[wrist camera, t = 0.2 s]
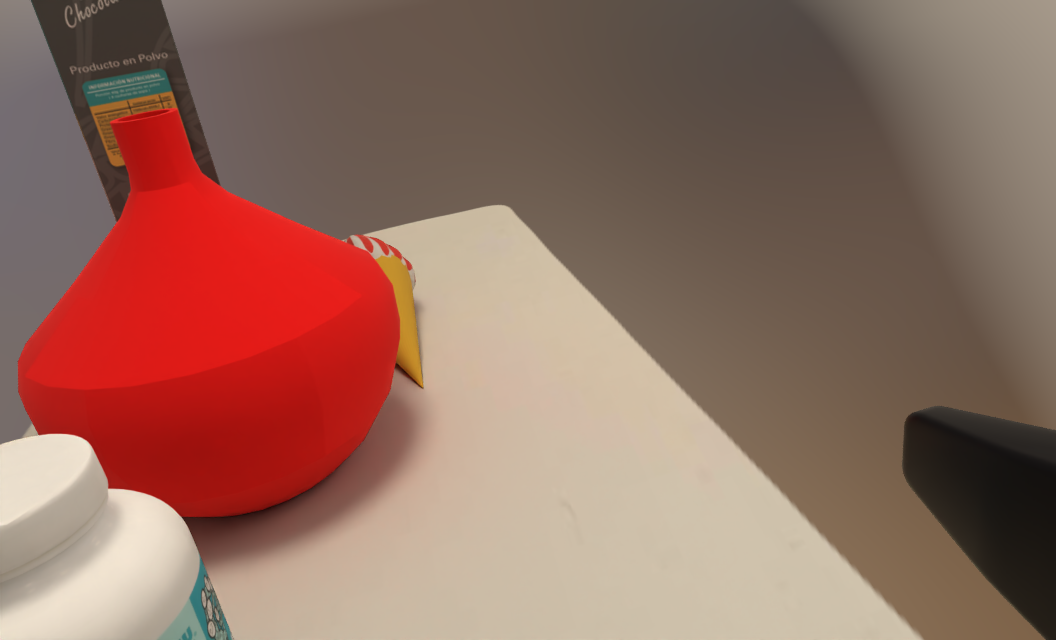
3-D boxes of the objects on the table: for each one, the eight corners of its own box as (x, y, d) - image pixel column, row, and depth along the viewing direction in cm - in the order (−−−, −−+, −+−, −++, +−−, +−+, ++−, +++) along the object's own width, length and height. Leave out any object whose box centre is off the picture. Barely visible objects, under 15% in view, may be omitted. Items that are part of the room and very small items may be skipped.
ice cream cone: (417, 443, 51) (348, 286, 65) (488, 379, 50) (402, 234, 65) (350, 402, 46) (292, 244, 61) (427, 331, 46) (350, 188, 61)
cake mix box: (179, 304, 69) (40, -72, 56) (248, 285, 71) (129, -83, 58) (189, 411, 50) (-14, -116, 37) (283, 381, 52) (119, -129, 39)
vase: (43, 630, 34) (-193, 206, 26) (122, 423, 50) (-6, 125, 42) (453, 507, 37) (359, 101, 29) (403, 351, 53) (333, 64, 45)
